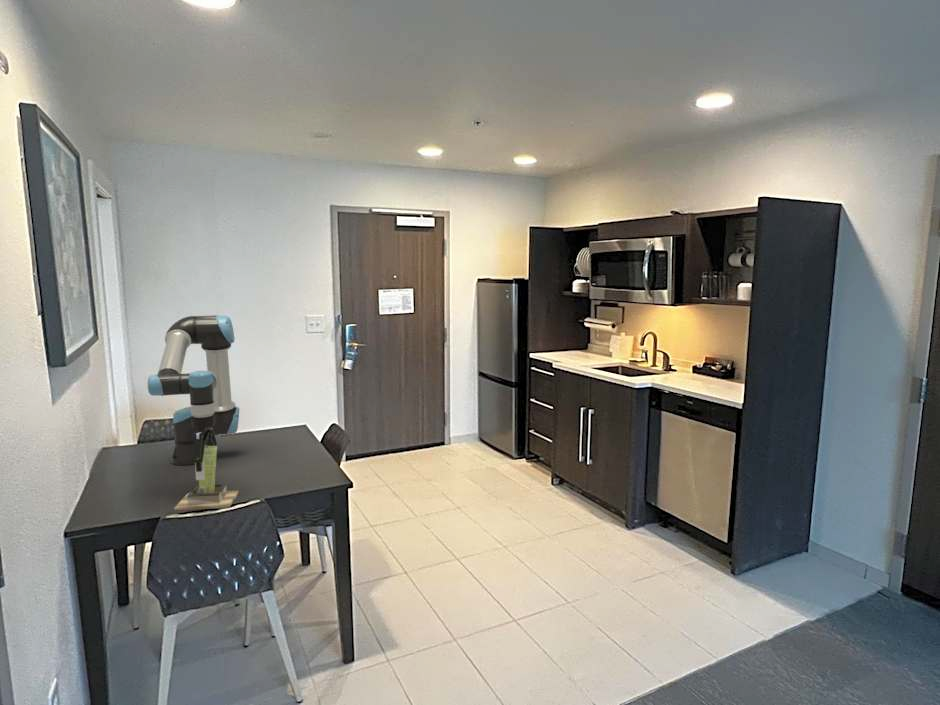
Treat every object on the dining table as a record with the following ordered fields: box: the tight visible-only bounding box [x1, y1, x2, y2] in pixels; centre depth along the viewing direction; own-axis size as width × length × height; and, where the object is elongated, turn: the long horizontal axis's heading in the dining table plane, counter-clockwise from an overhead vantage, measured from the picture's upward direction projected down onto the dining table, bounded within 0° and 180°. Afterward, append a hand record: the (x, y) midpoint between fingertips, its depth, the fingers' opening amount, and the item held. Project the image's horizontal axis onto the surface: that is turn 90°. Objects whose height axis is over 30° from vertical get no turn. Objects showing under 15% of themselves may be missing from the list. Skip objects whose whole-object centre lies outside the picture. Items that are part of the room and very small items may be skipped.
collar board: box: [173, 483, 240, 511], centre depth 208 cm, size 14×18×4 cm
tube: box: [197, 445, 218, 494], centre depth 207 cm, size 6×5×20 cm
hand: (206, 473), depth 207 cm, fingers open, 13 cm apart
